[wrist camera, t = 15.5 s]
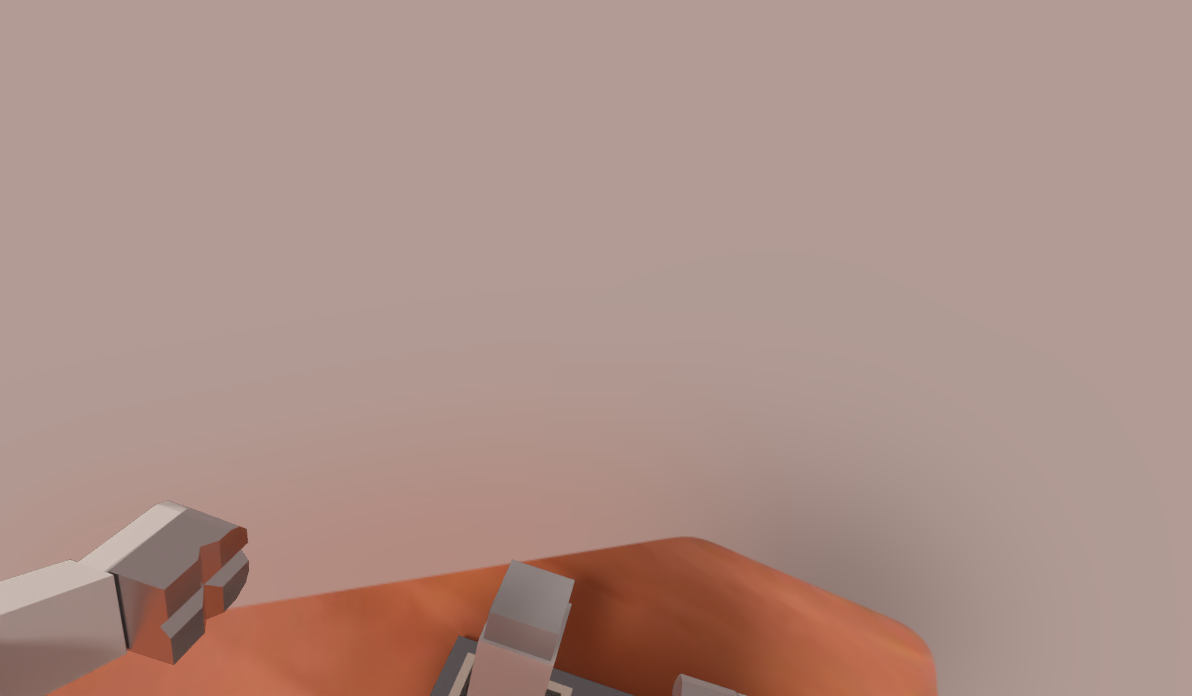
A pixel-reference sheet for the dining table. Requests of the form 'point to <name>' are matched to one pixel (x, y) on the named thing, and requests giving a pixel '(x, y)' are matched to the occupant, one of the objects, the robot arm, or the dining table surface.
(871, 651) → the dining table surface
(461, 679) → the panel
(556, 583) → the plug
